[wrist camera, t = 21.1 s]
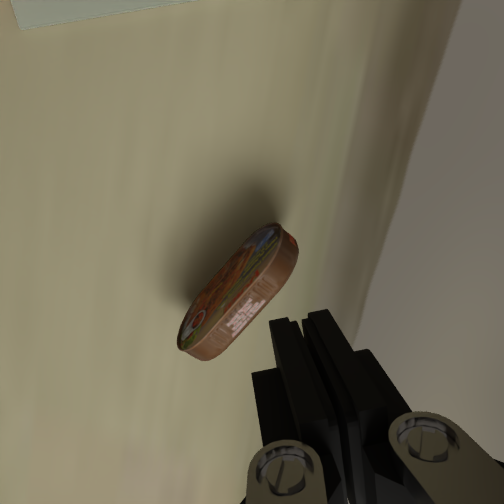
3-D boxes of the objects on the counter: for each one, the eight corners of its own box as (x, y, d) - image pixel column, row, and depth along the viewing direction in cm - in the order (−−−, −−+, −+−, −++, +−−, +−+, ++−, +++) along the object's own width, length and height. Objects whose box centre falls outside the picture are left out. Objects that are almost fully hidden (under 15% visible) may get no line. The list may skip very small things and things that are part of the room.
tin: (270, 212, 40) (285, 235, 32) (293, 231, 41) (313, 259, 33) (177, 318, 42) (169, 364, 35) (200, 334, 43) (198, 382, 35)
